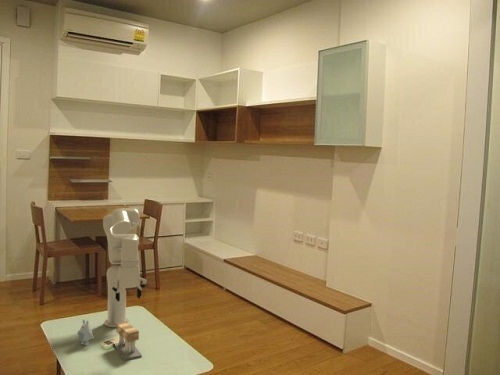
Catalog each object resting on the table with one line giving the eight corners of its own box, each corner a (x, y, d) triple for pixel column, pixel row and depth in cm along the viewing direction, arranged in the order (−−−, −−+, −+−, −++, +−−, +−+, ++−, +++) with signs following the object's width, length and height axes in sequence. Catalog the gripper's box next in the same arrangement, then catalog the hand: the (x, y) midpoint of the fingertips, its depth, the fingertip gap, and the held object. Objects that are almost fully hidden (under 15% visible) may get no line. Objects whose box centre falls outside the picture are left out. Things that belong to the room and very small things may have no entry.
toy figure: (72, 344, 212) (72, 319, 211) (82, 339, 217) (82, 315, 216) (88, 349, 207) (88, 324, 206) (98, 344, 212) (98, 320, 211)
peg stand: (113, 343, 214) (113, 329, 213) (129, 340, 218) (129, 326, 218) (124, 360, 197) (124, 345, 196) (141, 357, 201) (142, 342, 200)
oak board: (116, 331, 211) (116, 323, 210) (125, 329, 214) (126, 321, 214) (128, 342, 200) (128, 333, 200) (138, 339, 203) (138, 331, 203)
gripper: (144, 260, 213) (143, 294, 214) (108, 263, 204) (107, 299, 205) (149, 263, 206) (148, 299, 208) (112, 267, 198) (111, 304, 199)
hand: (128, 299), depth 207 cm, fingers open, 9 cm apart
